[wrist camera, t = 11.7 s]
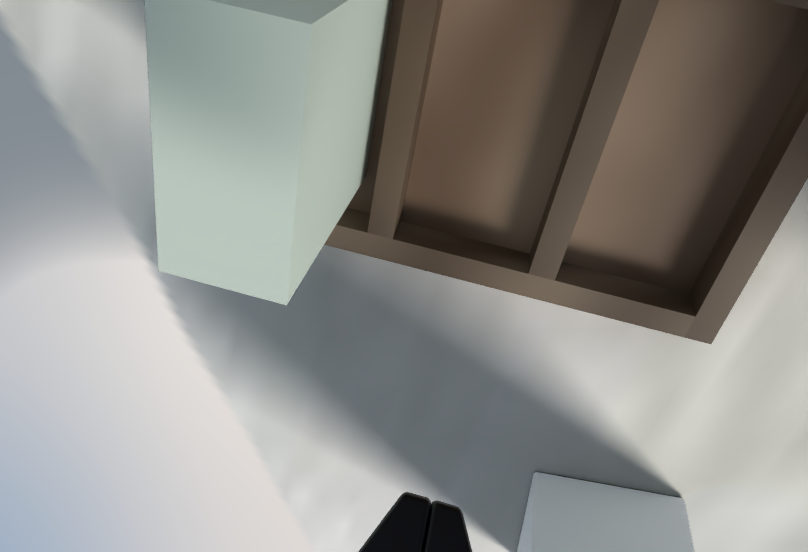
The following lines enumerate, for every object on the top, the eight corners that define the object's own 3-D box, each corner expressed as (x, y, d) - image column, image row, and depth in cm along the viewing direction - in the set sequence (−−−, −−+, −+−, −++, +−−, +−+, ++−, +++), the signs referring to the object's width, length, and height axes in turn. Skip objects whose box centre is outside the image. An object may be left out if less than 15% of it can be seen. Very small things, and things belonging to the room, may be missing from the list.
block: (397, -33, 17) (311, 24, 11) (365, 177, 20) (286, 305, 14) (286, -58, 17) (143, -16, 11) (273, 153, 20) (158, 271, 14)
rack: (901, -40, 15) (997, -13, 12) (703, 318, 21) (729, 402, 18) (236, -180, 16) (154, -191, 13) (229, 197, 22) (171, 255, 19)
